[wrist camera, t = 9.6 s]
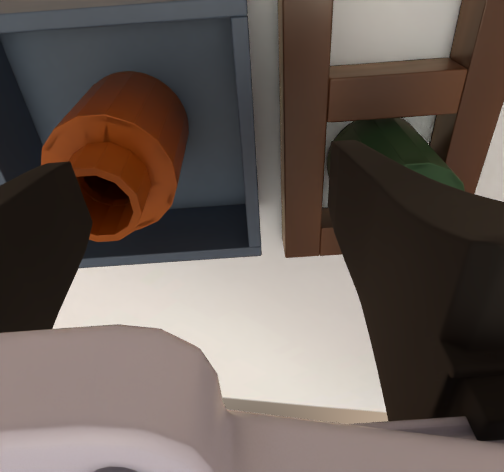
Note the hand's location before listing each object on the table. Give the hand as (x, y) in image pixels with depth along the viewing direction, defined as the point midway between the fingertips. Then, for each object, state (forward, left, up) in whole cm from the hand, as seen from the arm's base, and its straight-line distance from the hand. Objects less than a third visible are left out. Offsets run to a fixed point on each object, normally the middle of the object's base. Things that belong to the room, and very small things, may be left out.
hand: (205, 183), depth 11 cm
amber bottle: (-2, +4, -9) cm, 10 cm away
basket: (-2, +4, -10) cm, 11 cm away
